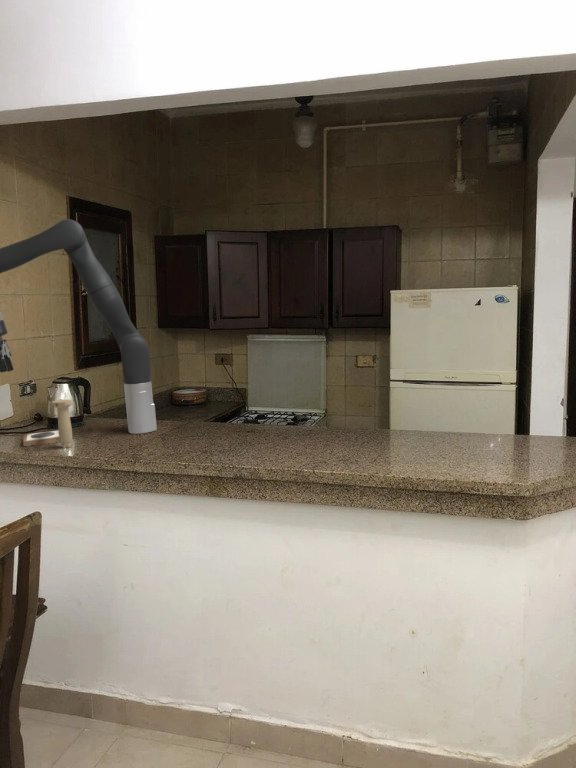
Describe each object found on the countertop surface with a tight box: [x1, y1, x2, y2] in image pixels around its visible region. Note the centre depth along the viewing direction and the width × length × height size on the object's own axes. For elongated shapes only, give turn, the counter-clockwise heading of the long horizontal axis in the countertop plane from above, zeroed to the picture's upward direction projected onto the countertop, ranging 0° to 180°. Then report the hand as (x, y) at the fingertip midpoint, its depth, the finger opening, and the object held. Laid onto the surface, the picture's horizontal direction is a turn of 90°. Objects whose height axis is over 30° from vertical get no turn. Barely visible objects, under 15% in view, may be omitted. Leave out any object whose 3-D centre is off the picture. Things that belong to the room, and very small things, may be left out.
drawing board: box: [22, 429, 61, 447], centre depth 201 cm, size 12×12×2 cm
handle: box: [51, 399, 74, 449], centre depth 189 cm, size 5×6×15 cm
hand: (7, 371), depth 190 cm, fingers open, 8 cm apart
